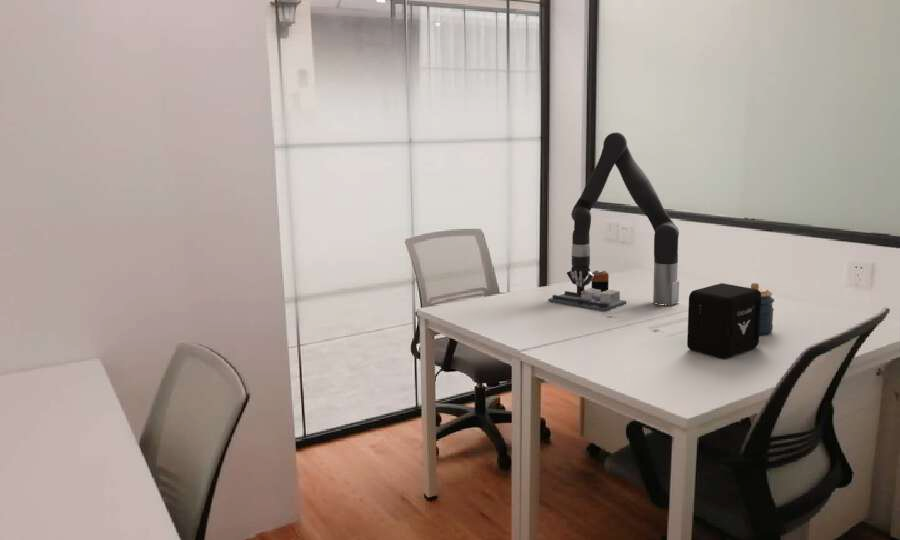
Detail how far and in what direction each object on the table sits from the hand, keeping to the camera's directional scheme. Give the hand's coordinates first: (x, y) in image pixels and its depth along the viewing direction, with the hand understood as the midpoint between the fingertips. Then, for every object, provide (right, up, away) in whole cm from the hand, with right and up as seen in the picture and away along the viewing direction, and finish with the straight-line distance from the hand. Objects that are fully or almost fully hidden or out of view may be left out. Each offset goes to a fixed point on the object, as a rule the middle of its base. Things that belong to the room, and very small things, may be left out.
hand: (580, 294), depth 305 cm
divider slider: (+3, -2, -4) cm, 6 cm away
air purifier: (+35, -16, -67) cm, 78 cm away
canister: (+52, -11, -48) cm, 72 cm away
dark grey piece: (+2, -3, -1) cm, 4 cm away
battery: (+11, 0, +15) cm, 18 cm away
